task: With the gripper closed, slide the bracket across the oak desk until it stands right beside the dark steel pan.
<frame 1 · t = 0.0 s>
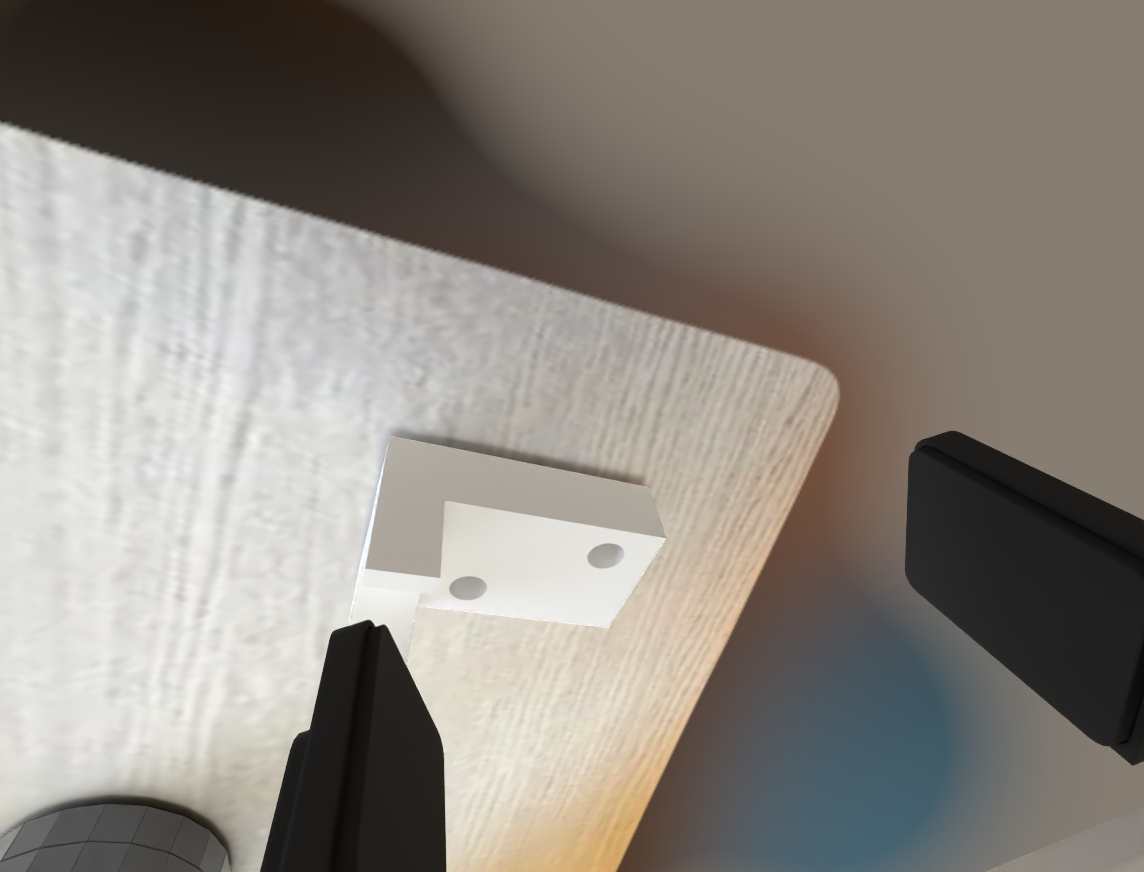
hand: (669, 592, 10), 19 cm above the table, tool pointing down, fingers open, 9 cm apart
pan: (114, 869, 34), on the table
bracket: (501, 528, 31), on the table
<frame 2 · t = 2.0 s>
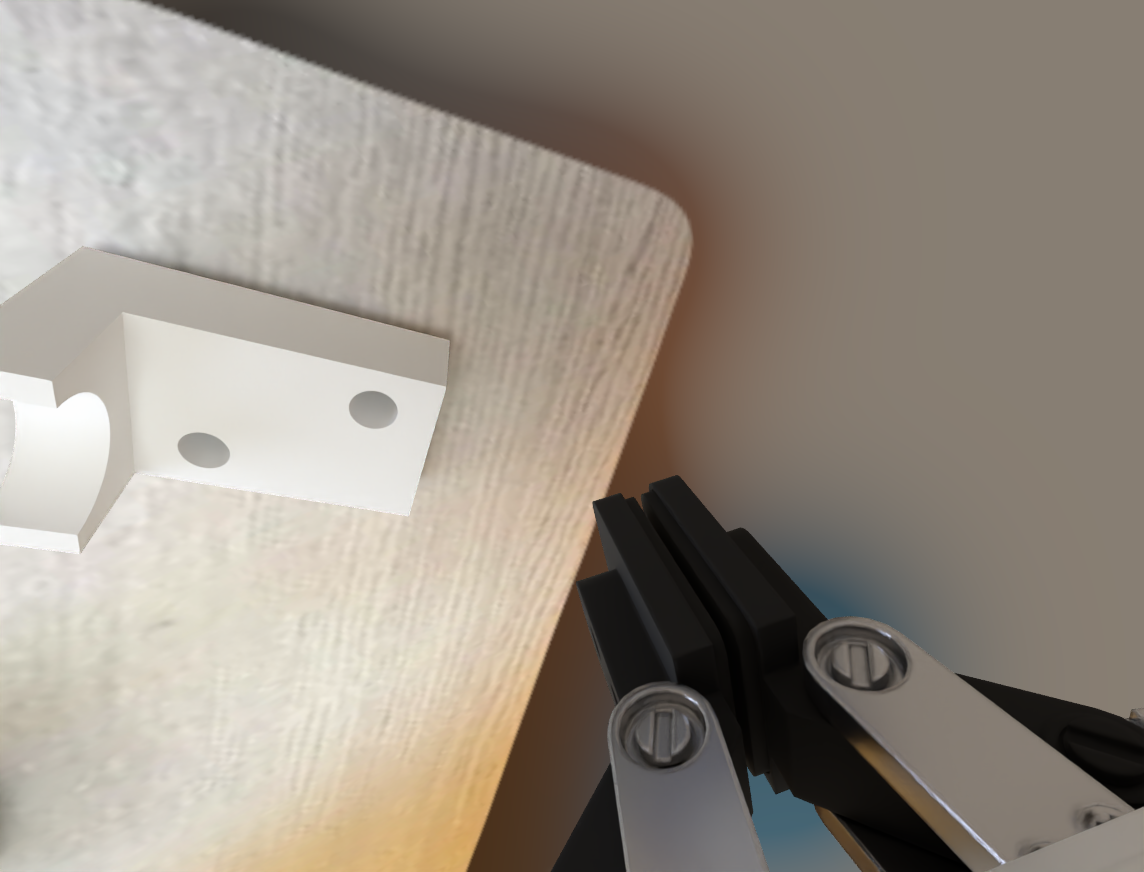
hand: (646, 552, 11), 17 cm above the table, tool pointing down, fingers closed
bracket: (273, 392, 25), on the table
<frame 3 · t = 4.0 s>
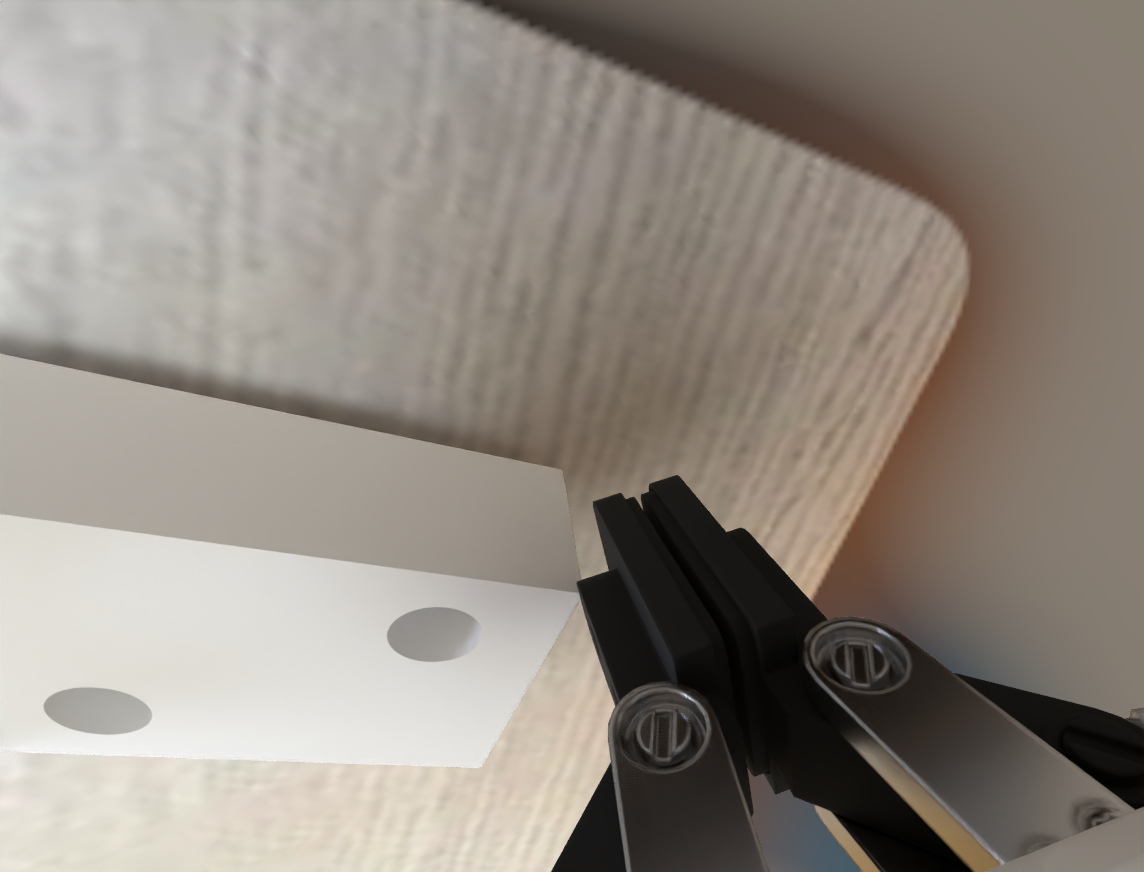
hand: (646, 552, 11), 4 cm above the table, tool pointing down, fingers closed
bracket: (245, 557, 14), on the table, touching gripper
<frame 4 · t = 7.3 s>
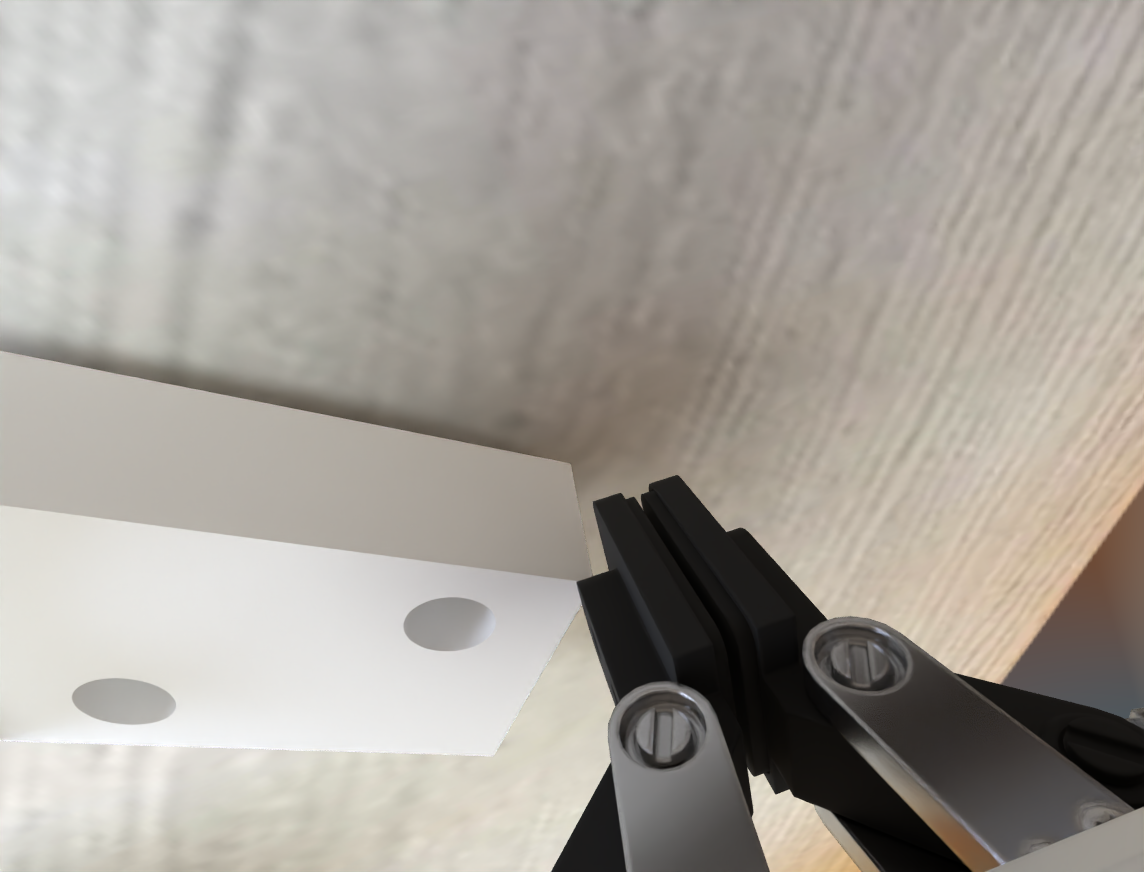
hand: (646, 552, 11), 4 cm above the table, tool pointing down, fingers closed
bracket: (261, 552, 14), on the table, touching gripper
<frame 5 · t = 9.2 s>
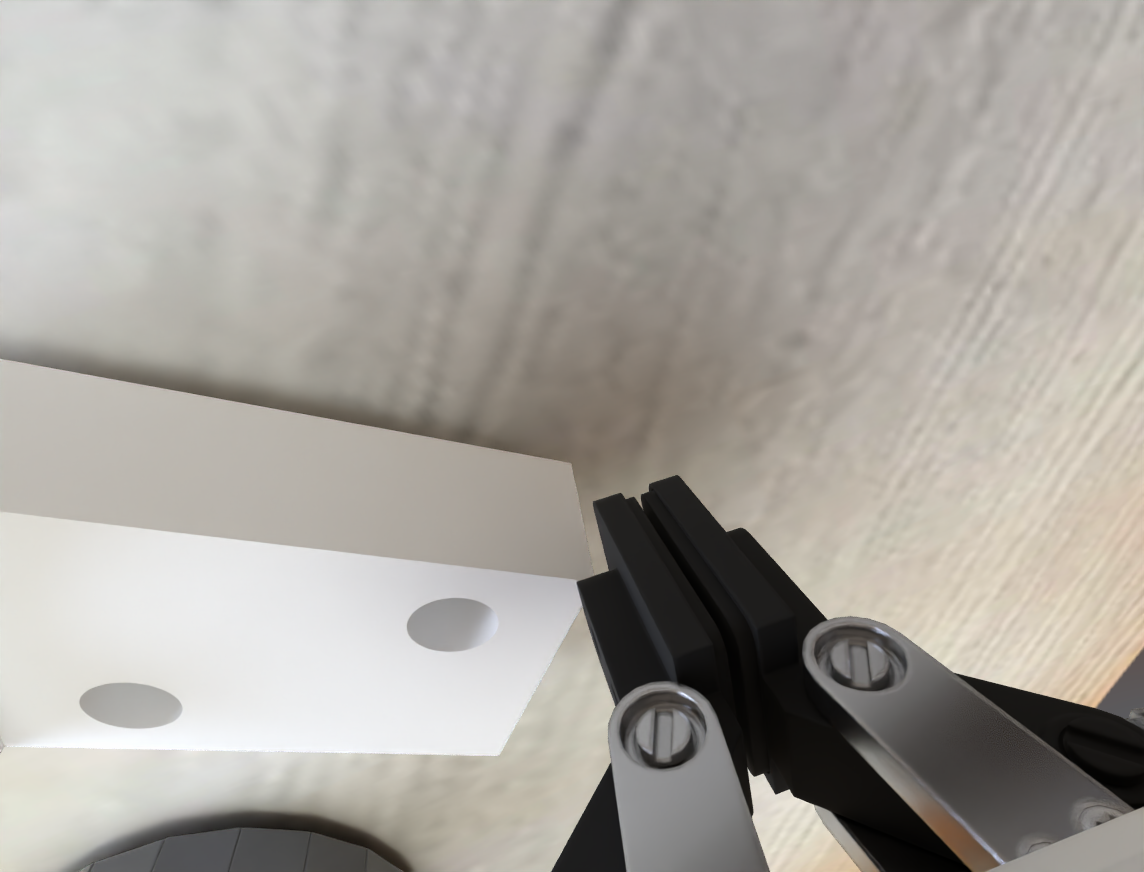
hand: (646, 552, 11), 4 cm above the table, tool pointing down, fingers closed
bracket: (265, 556, 15), on the table, touching gripper
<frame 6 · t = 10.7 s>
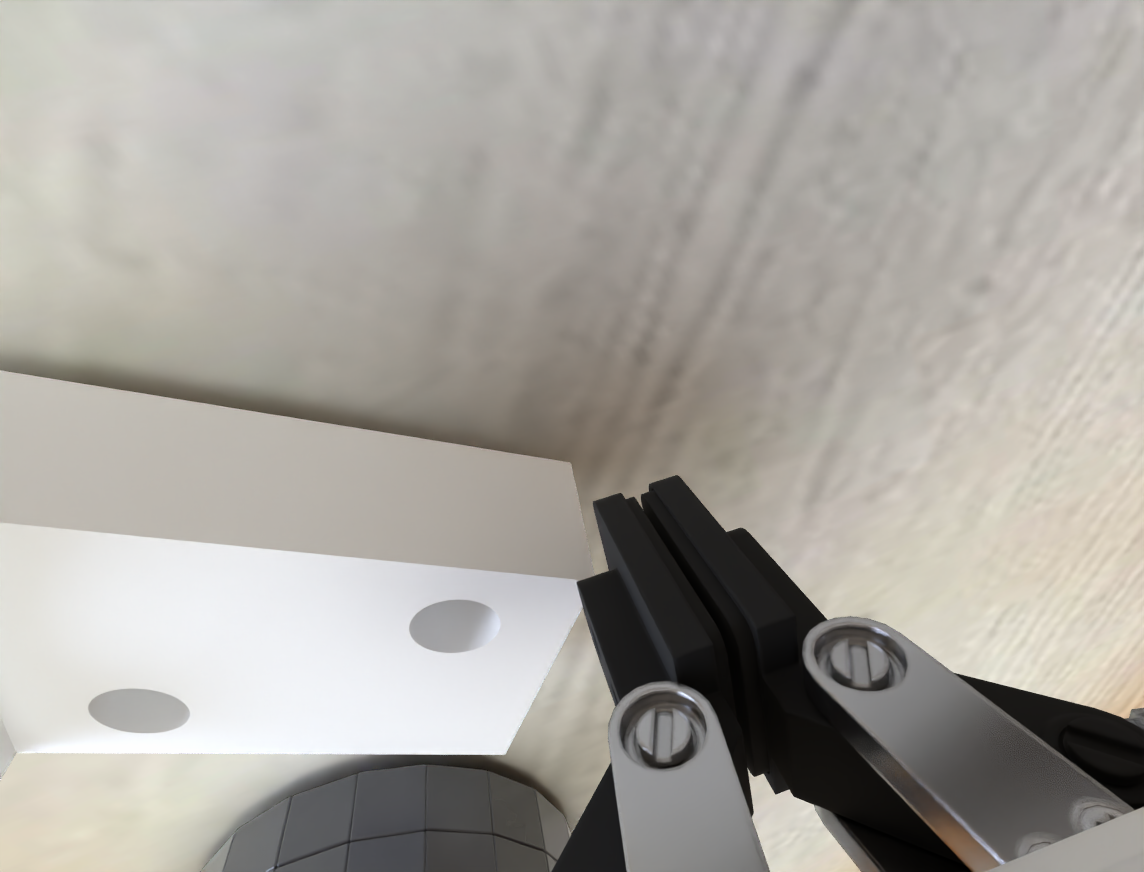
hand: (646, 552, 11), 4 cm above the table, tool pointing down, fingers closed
bracket: (269, 560, 15), on the table, touching gripper
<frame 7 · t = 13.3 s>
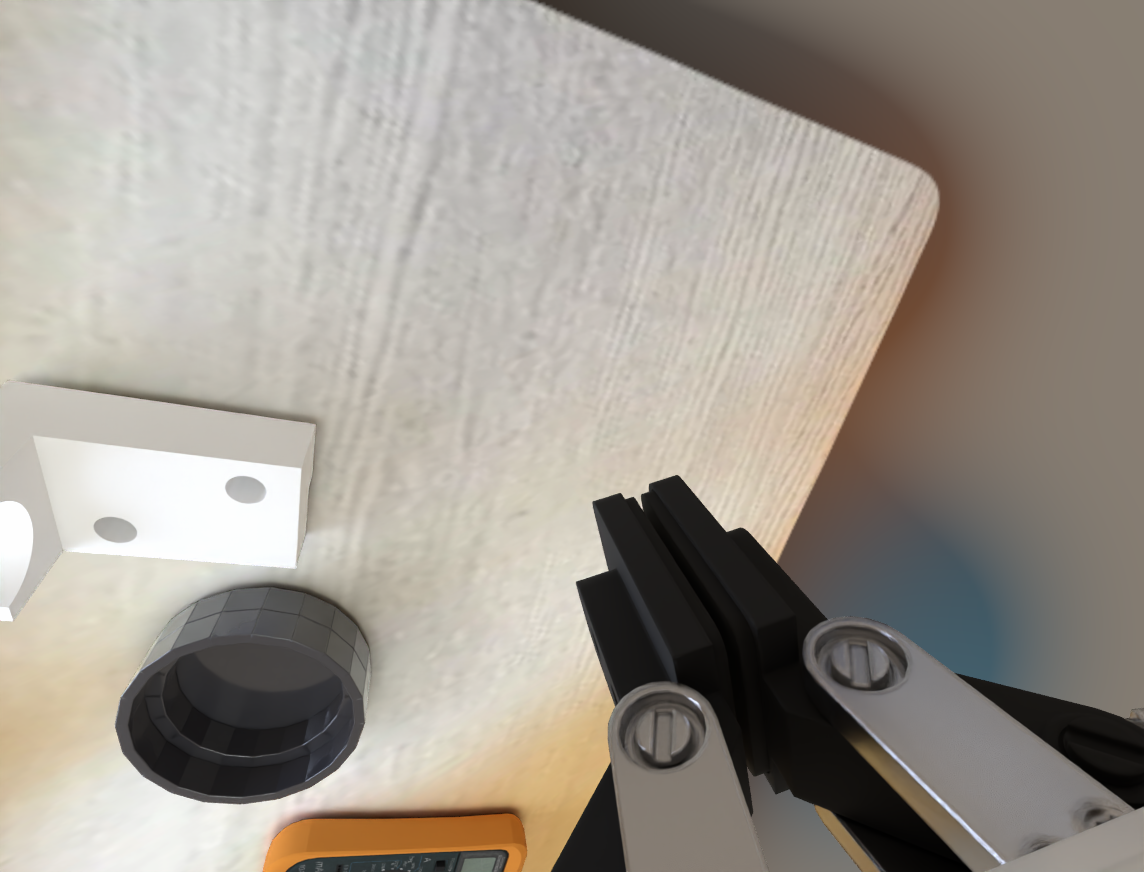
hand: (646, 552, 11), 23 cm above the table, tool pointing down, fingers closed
multimeter: (398, 844, 45), on the table
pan: (266, 665, 36), on the table
bracket: (178, 474, 31), on the table
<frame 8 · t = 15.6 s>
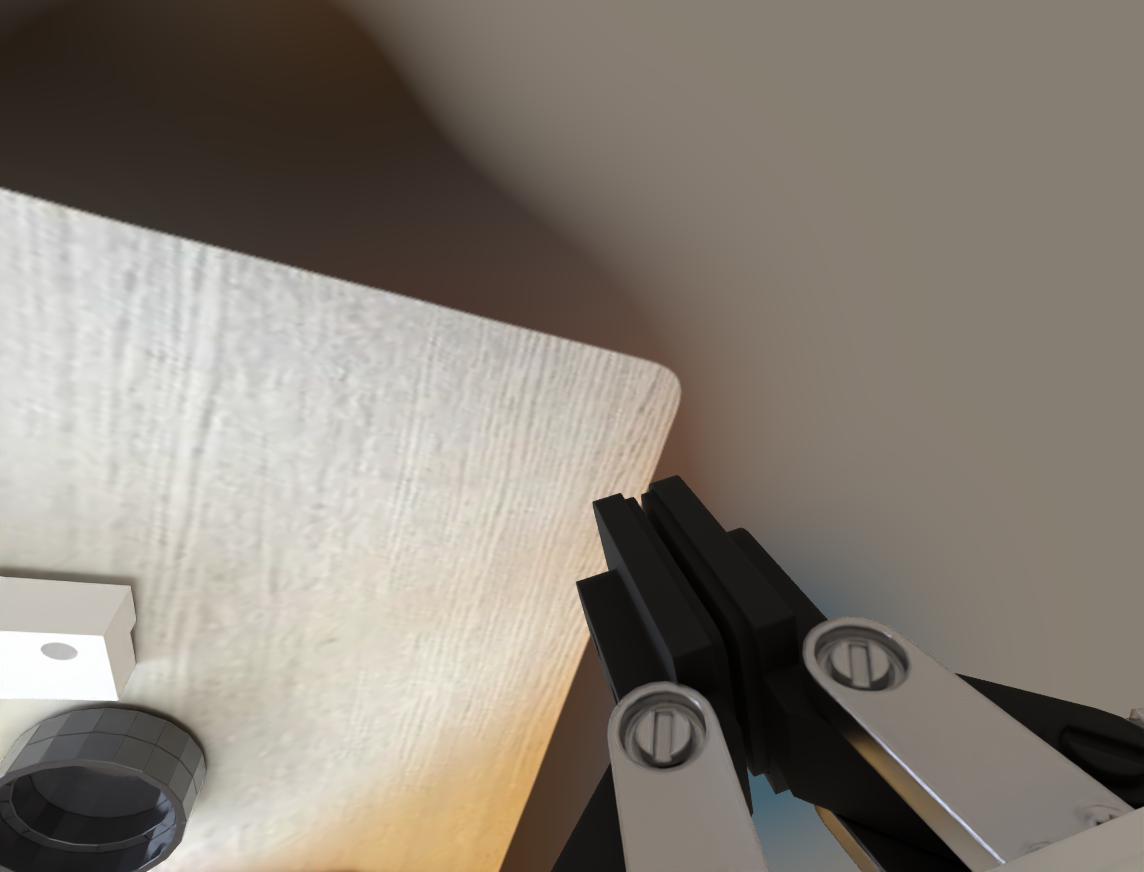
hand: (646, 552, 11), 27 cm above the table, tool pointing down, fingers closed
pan: (113, 766, 43), on the table
bracket: (18, 623, 37), on the table
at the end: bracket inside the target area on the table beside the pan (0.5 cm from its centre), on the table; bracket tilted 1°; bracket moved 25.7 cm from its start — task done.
